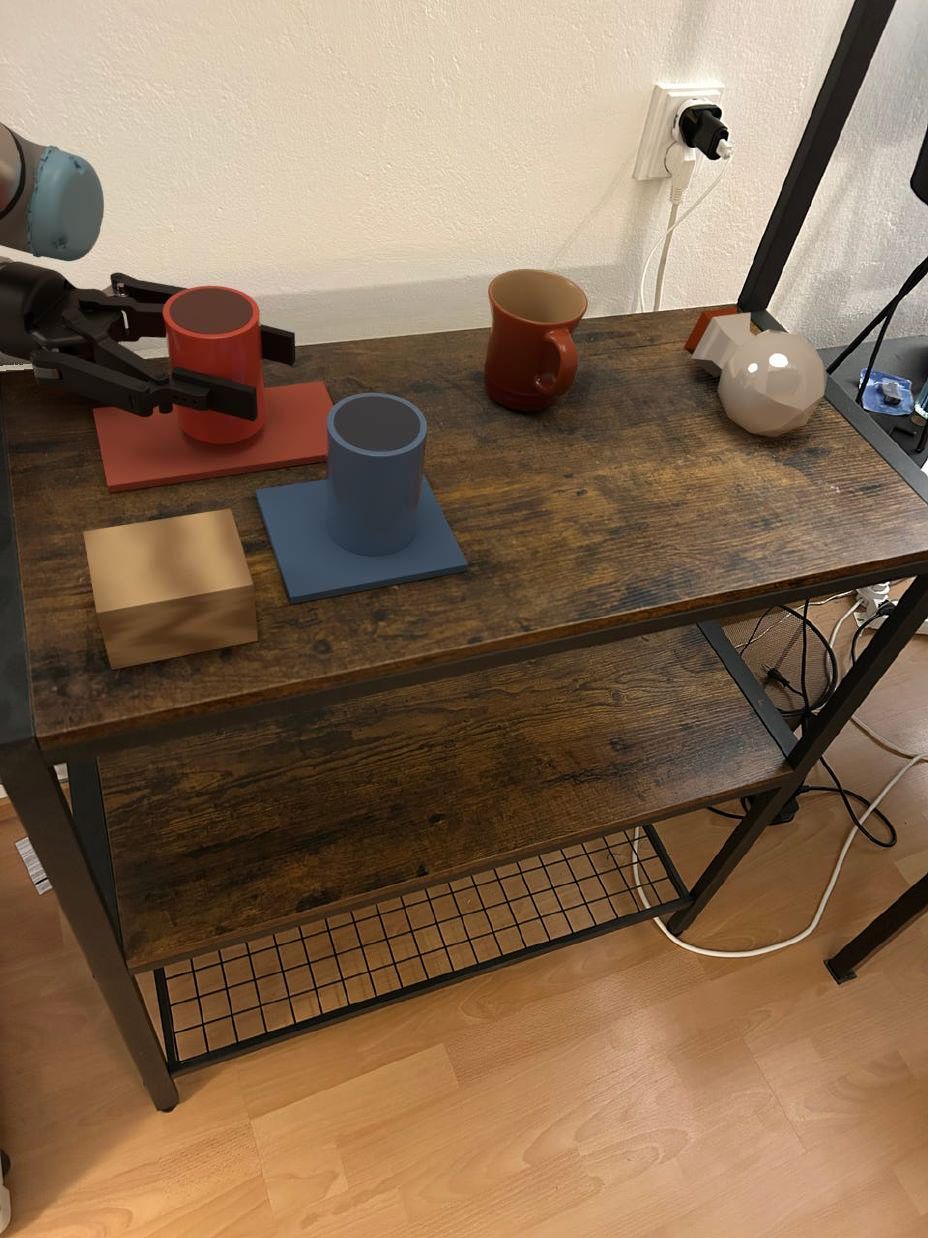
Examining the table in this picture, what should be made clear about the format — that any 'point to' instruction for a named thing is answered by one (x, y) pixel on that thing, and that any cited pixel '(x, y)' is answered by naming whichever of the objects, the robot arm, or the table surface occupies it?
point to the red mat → (171, 456)
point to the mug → (532, 338)
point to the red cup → (216, 354)
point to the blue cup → (374, 473)
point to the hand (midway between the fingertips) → (274, 375)
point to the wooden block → (171, 587)
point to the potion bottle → (758, 372)
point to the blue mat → (330, 569)
